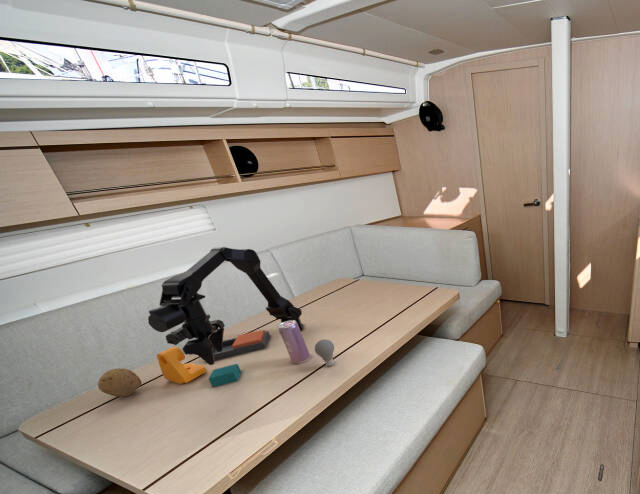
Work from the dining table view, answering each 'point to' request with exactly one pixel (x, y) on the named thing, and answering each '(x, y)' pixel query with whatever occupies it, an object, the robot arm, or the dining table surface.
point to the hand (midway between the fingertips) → (216, 357)
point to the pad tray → (229, 351)
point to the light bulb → (325, 351)
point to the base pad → (248, 339)
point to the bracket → (178, 366)
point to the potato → (119, 382)
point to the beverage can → (294, 341)
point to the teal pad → (225, 375)
